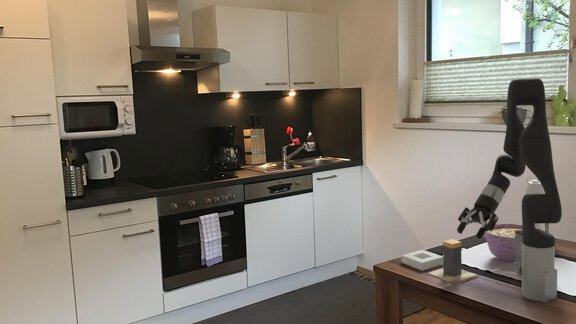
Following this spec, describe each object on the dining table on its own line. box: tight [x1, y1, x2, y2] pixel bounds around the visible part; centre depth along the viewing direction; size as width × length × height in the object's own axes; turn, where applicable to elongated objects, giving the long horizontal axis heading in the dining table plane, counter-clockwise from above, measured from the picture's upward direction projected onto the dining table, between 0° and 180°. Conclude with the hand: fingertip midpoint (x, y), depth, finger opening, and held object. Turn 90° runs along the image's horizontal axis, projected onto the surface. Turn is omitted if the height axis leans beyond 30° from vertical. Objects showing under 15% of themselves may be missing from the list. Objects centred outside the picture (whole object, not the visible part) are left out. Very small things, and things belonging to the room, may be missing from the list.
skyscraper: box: [525, 177, 550, 234], centre depth 216 cm, size 8×8×28 cm
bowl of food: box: [484, 223, 522, 264], centre depth 196 cm, size 20×20×12 cm
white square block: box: [401, 249, 443, 271], centre depth 196 cm, size 11×11×4 cm
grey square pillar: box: [442, 238, 463, 277], centre depth 182 cm, size 4×4×12 cm
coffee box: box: [514, 229, 545, 279], centre depth 178 cm, size 9×6×16 cm
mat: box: [427, 267, 478, 286], centre depth 183 cm, size 12×12×1 cm
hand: (468, 235), depth 185 cm, fingers open, 8 cm apart
